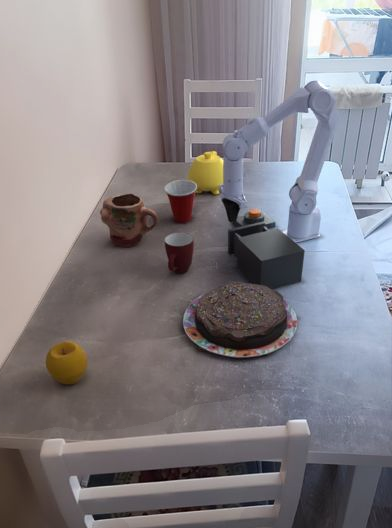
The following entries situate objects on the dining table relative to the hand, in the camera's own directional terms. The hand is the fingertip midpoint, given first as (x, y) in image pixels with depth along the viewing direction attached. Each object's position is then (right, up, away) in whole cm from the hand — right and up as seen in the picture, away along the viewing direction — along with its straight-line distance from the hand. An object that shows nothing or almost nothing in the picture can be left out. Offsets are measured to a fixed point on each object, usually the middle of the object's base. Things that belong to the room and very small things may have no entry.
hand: (232, 221), depth 148 cm
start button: (+8, +4, +10) cm, 13 cm away
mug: (-16, -17, -10) cm, 25 cm away
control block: (+8, +1, +12) cm, 14 cm away
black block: (+9, -18, -13) cm, 24 cm away
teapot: (-6, +21, +38) cm, 44 cm away
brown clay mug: (-32, -6, +5) cm, 32 cm away
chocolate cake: (0, -31, -30) cm, 43 cm away
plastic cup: (-16, +4, +16) cm, 23 cm away
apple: (-38, -43, -43) cm, 72 cm away
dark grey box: (+5, -11, -6) cm, 14 cm away
